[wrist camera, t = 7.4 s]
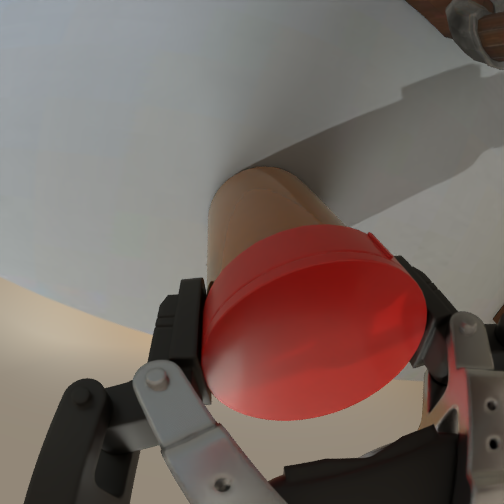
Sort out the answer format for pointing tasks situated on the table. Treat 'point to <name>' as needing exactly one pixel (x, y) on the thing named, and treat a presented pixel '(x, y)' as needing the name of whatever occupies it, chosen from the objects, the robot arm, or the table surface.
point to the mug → (469, 26)
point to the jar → (258, 213)
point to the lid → (309, 323)
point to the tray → (499, 315)
